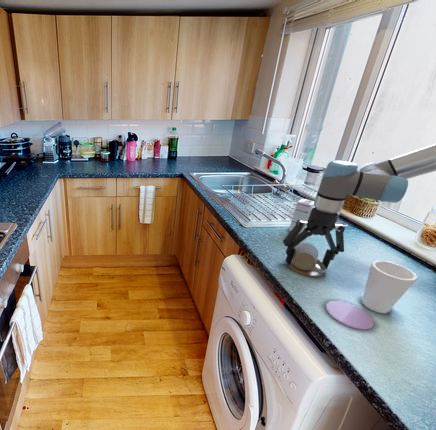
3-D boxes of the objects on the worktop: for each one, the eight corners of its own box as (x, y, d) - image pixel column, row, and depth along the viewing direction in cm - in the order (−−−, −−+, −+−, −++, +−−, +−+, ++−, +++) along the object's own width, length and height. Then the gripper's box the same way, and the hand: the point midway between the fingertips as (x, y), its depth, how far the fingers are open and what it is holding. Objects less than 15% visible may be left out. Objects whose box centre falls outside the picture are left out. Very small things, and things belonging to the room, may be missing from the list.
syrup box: (302, 235, 124) (312, 205, 118) (287, 230, 128) (297, 200, 122) (306, 231, 128) (317, 201, 122) (292, 227, 132) (301, 197, 126)
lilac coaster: (359, 304, 86) (359, 303, 86) (382, 333, 76) (383, 331, 76) (318, 299, 88) (319, 298, 87) (336, 326, 78) (337, 325, 78)
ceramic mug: (289, 267, 102) (295, 249, 98) (290, 257, 108) (296, 239, 104) (324, 278, 97) (332, 259, 93) (323, 266, 103) (331, 248, 100)
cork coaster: (314, 260, 107) (315, 259, 107) (329, 278, 97) (329, 277, 97) (283, 257, 109) (283, 256, 108) (293, 274, 99) (294, 273, 99)
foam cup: (352, 304, 86) (370, 269, 80) (357, 290, 91) (374, 256, 86) (394, 322, 79) (416, 285, 74) (397, 306, 85) (417, 270, 80)
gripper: (360, 207, 94) (336, 263, 104) (283, 201, 98) (267, 255, 108) (374, 217, 88) (348, 275, 97) (291, 210, 92) (273, 266, 101)
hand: (305, 264), depth 102 cm, fingers closed on ceramic mug, 11 cm apart
